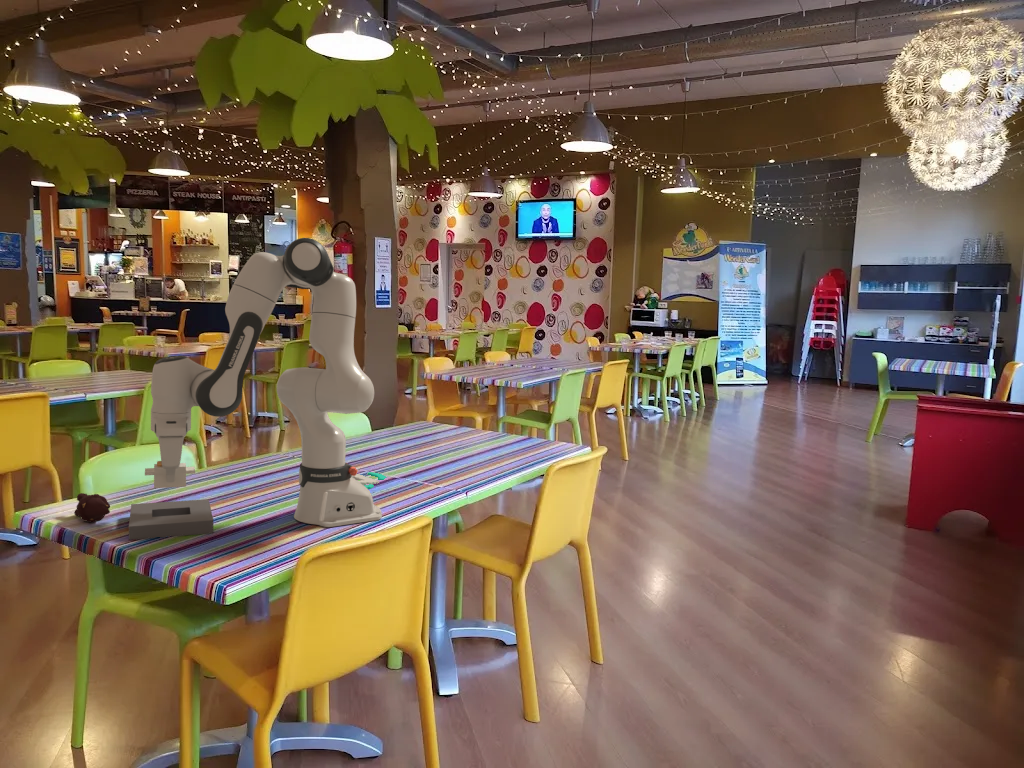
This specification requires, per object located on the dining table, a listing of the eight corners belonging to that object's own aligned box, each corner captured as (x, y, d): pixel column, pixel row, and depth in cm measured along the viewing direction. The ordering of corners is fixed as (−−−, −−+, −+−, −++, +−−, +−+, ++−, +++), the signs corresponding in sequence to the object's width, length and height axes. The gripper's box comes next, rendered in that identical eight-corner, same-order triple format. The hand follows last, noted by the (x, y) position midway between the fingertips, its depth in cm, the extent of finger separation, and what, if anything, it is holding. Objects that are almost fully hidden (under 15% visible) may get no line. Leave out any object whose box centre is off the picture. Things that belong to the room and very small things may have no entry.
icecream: (126, 498, 180) (95, 491, 189) (96, 496, 174) (65, 489, 183) (121, 527, 180) (90, 518, 188) (90, 526, 173) (59, 517, 182)
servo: (194, 482, 185) (194, 458, 184) (194, 486, 181) (195, 462, 181) (145, 484, 180) (145, 460, 180) (144, 488, 177) (144, 463, 176)
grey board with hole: (208, 511, 194) (208, 499, 194) (213, 533, 178) (213, 520, 178) (131, 516, 186) (131, 504, 186) (128, 540, 170) (128, 526, 170)
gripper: (157, 415, 187) (156, 469, 189) (156, 430, 169) (155, 490, 170) (184, 415, 190) (183, 468, 191) (186, 430, 171) (185, 488, 173)
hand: (170, 478), depth 181 cm, fingers closed on servo, 4 cm apart
